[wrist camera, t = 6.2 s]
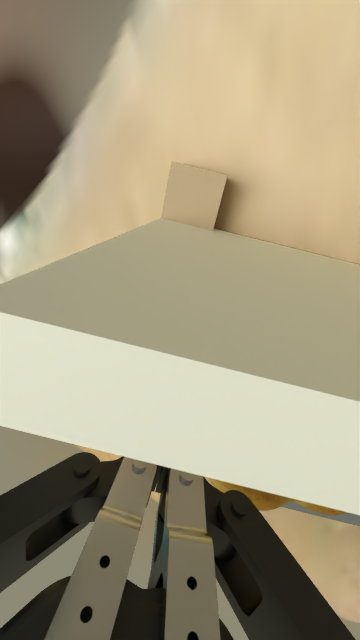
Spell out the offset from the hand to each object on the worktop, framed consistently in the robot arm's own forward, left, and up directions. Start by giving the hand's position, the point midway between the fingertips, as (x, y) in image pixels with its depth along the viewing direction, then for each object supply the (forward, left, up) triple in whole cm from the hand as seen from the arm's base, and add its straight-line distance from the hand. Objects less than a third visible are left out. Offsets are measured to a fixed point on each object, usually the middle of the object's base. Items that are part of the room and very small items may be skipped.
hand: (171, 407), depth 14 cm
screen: (-8, +5, -1) cm, 10 cm away
